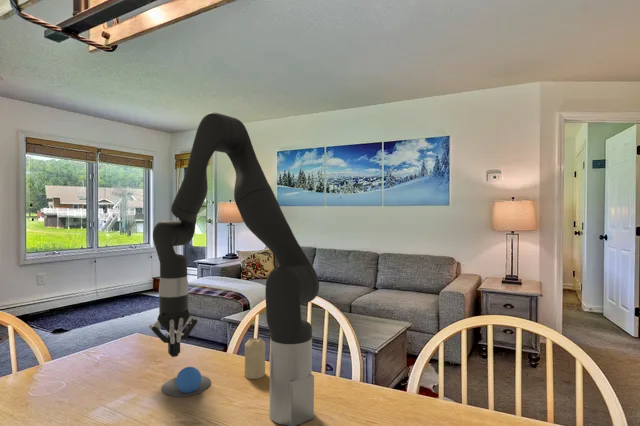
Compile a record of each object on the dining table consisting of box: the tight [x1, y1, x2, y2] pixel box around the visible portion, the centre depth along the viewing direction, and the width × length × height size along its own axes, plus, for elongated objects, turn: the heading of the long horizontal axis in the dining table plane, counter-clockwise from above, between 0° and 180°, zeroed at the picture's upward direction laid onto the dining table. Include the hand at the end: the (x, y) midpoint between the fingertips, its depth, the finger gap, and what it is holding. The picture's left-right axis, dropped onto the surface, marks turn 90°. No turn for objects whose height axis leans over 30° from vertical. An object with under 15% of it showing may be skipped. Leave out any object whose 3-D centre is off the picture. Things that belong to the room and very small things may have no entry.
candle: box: [244, 337, 266, 380], centre depth 108 cm, size 6×6×10 cm
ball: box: [175, 366, 202, 393], centre depth 98 cm, size 6×6×6 cm
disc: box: [161, 374, 212, 398], centre depth 101 cm, size 12×12×1 cm
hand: (174, 355), depth 109 cm, fingers closed
